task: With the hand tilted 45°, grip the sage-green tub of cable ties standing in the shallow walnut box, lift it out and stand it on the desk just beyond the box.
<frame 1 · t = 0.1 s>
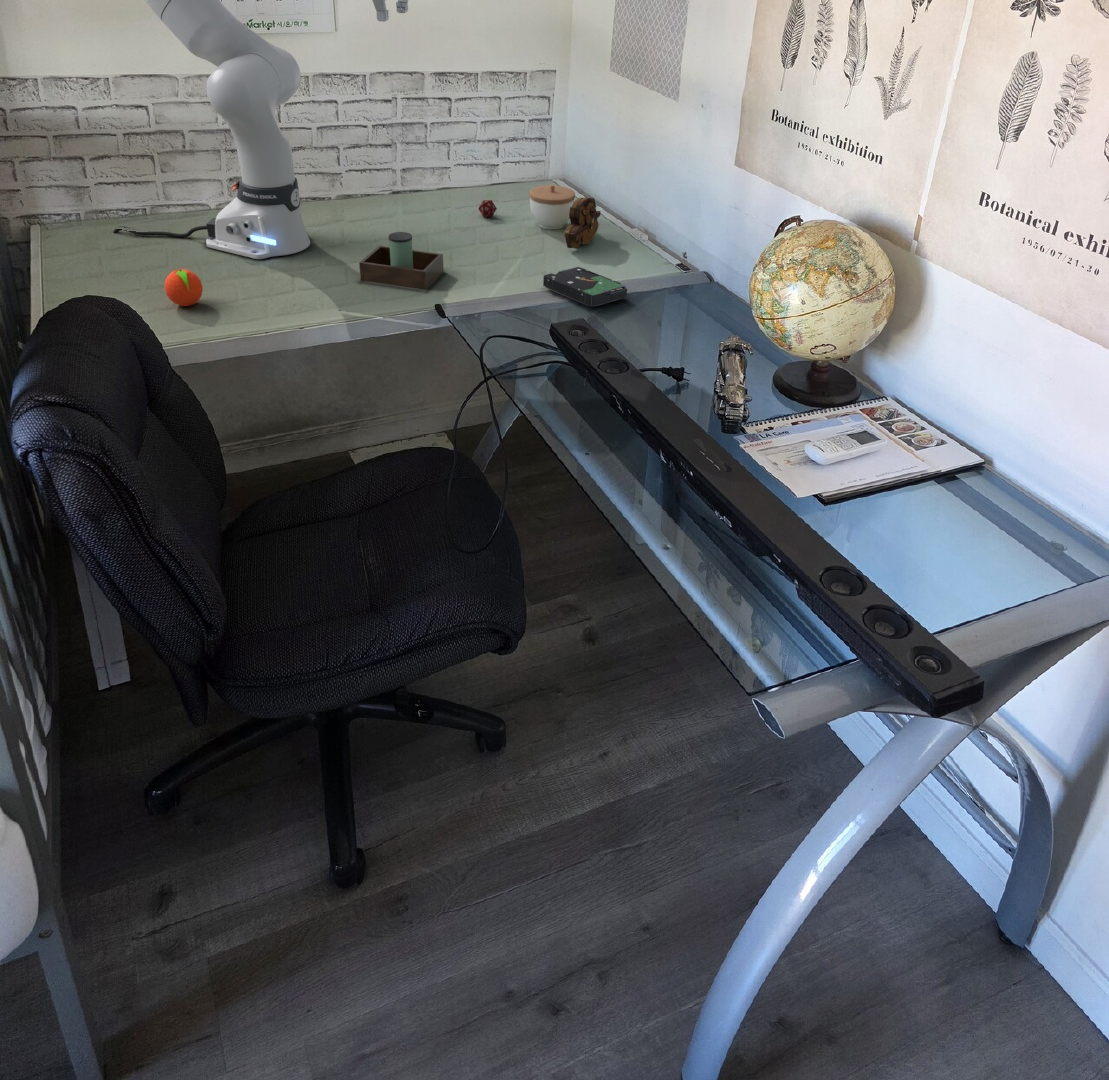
hand: (392, 16, 186), 48 cm above the table, tool pointing down, fingers open, 8 cm apart
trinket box: (551, 225, 237), on the table
walnut box: (402, 278, 208), on the table
clementine: (188, 306, 194), on the table
wooden carving: (582, 244, 228), on the table
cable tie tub: (402, 275, 208), resting on walnut box
dice: (487, 217, 240), on the table
disk drive: (584, 293, 205), on the table
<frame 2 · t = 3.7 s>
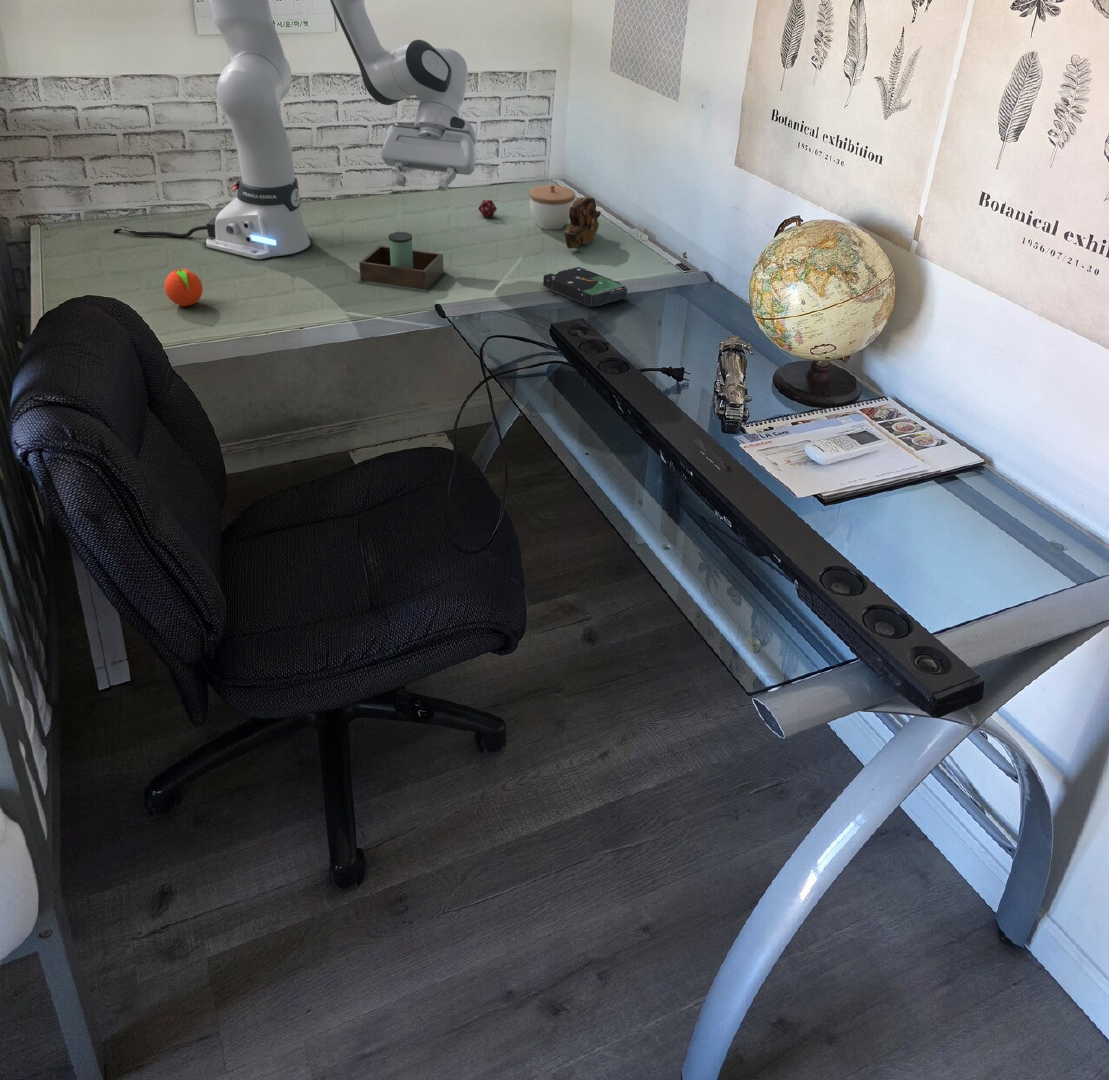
hand: (421, 187, 209), 15 cm above the table, tool tilted 45°, fingers open, 8 cm apart
nothing on the table moved.
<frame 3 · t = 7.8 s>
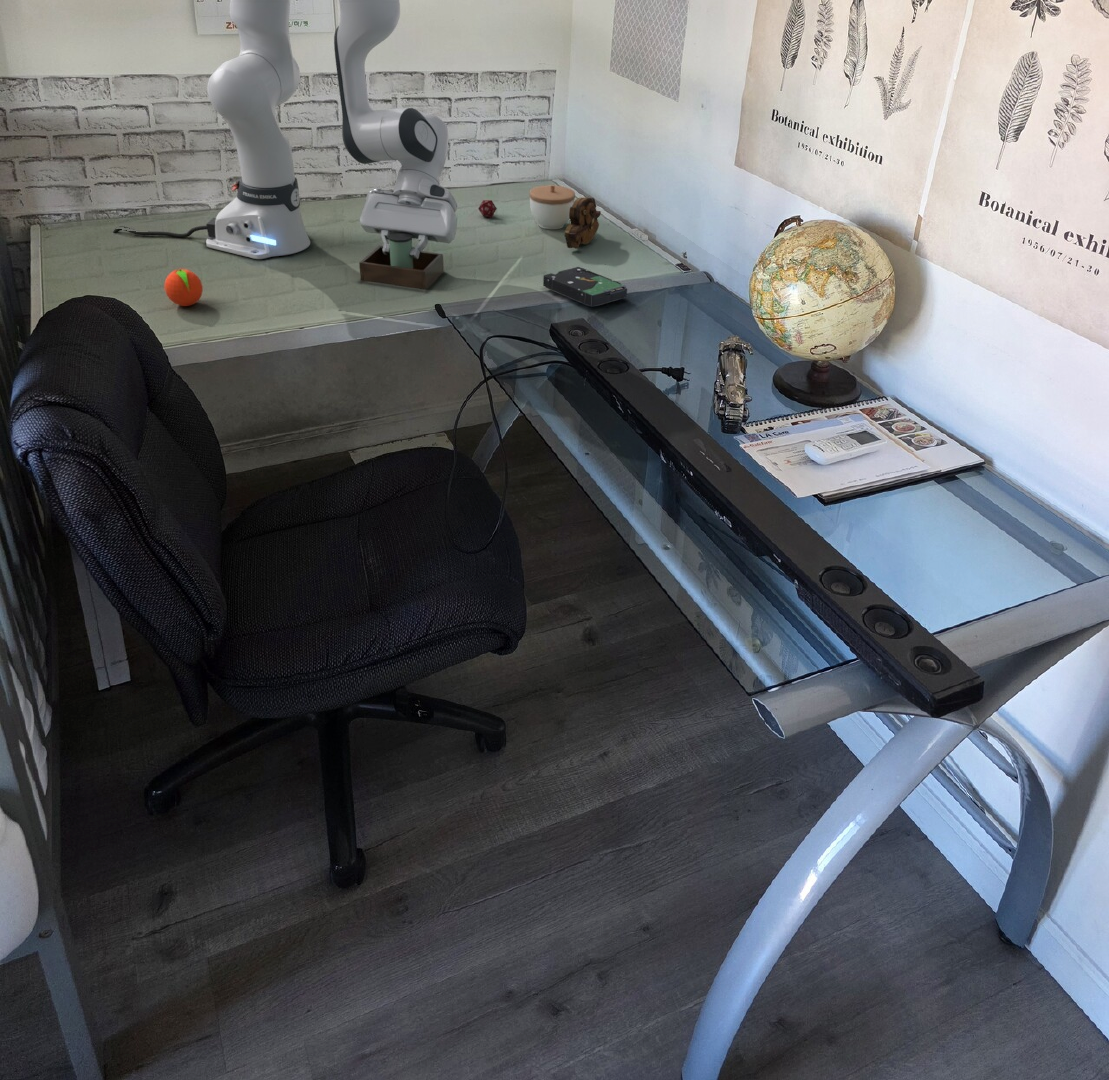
hand: (400, 255, 205), 5 cm above the table, tool tilted 45°, fingers closed on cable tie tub, 4 cm apart
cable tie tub: (402, 275, 208), point 1 cm above the table, touching gripper, walnut box
everything else where it was.
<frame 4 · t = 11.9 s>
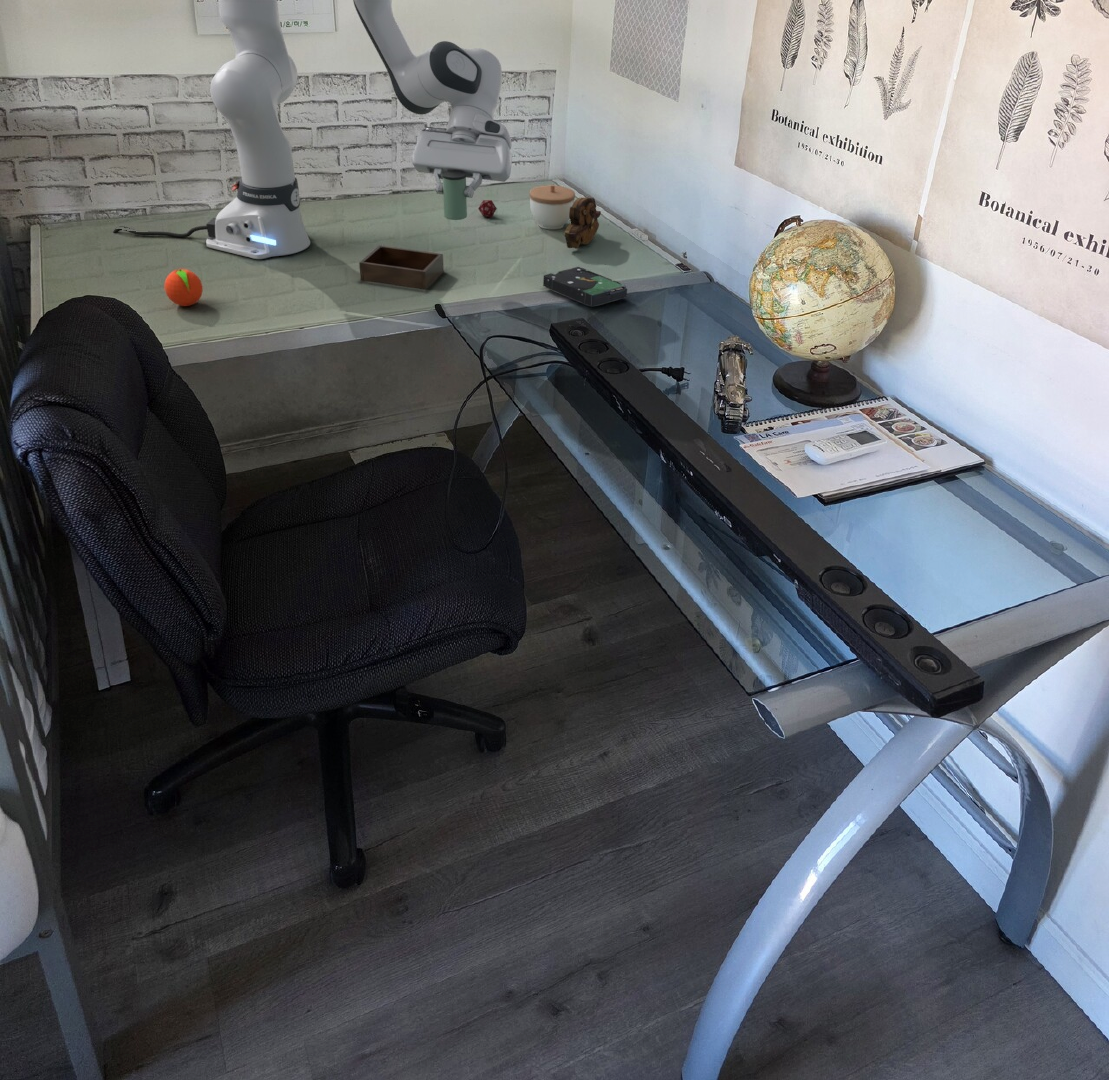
hand: (454, 194, 199), 17 cm above the table, tool tilted 45°, fingers closed on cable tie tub, 4 cm apart
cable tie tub: (455, 216, 202), point 13 cm above the table, touching gripper
everything else where it was.
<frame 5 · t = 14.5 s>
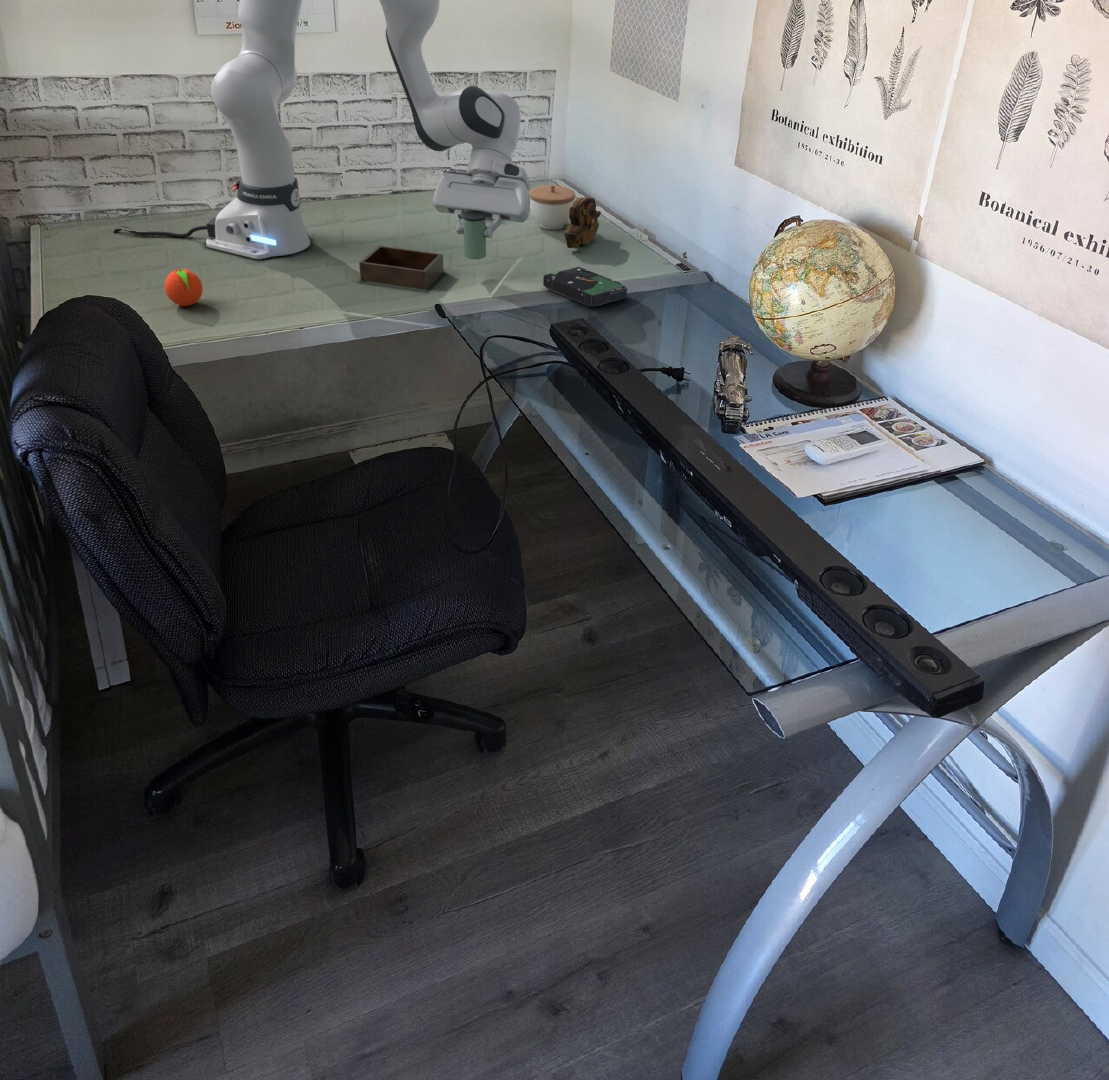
hand: (473, 235, 204), 9 cm above the table, tool tilted 45°, fingers closed on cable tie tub, 4 cm apart
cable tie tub: (475, 255, 208), point 5 cm above the table, touching gripper
everything else where it was.
when the fingers open (4 cm above the table, at t = 16.2 s): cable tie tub stays where it is, on the table.
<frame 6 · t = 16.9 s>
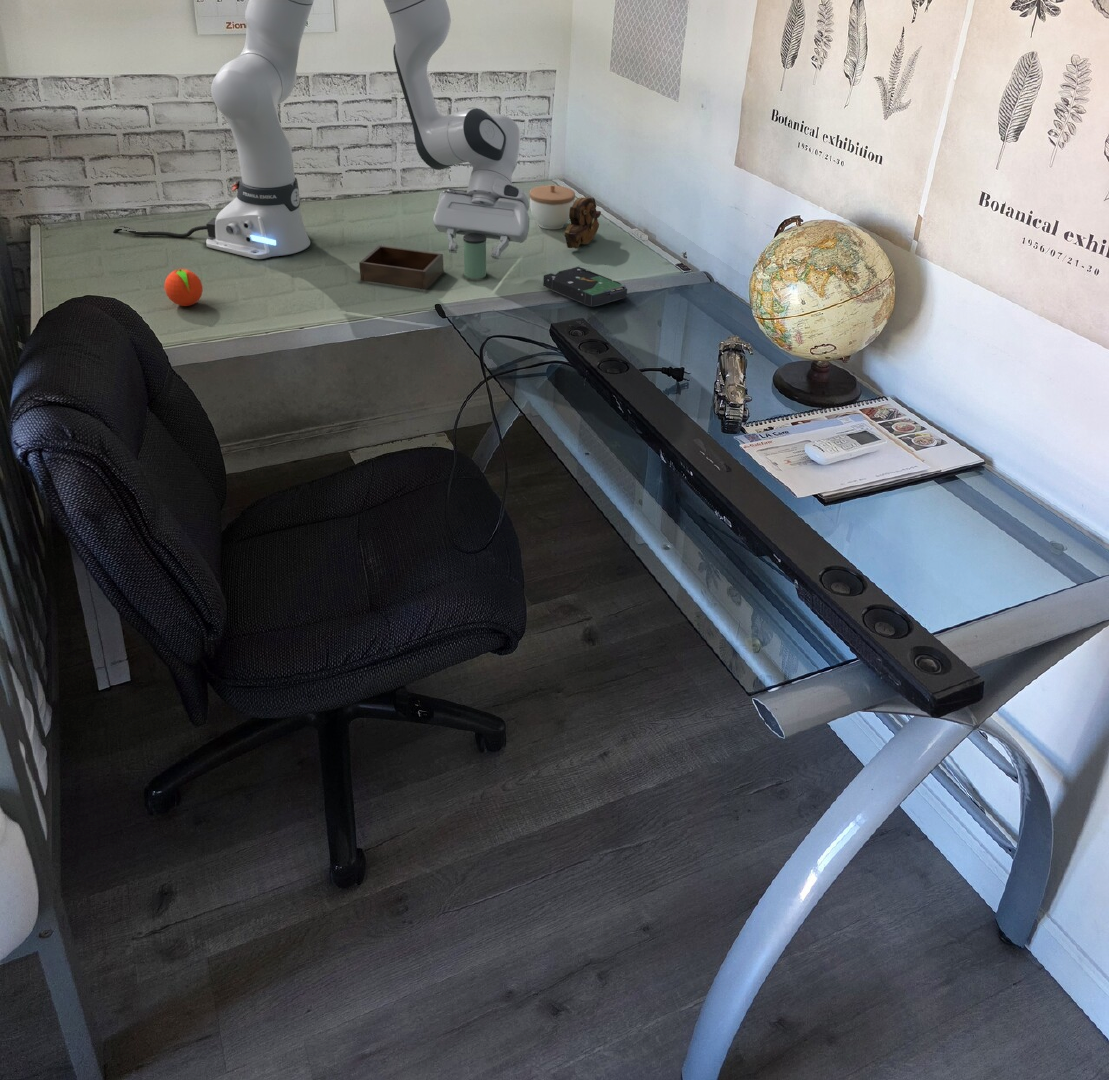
hand: (473, 255, 207), 5 cm above the table, tool tilted 45°, fingers open, 8 cm apart
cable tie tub: (475, 276, 210), on the table
everything else where it was.
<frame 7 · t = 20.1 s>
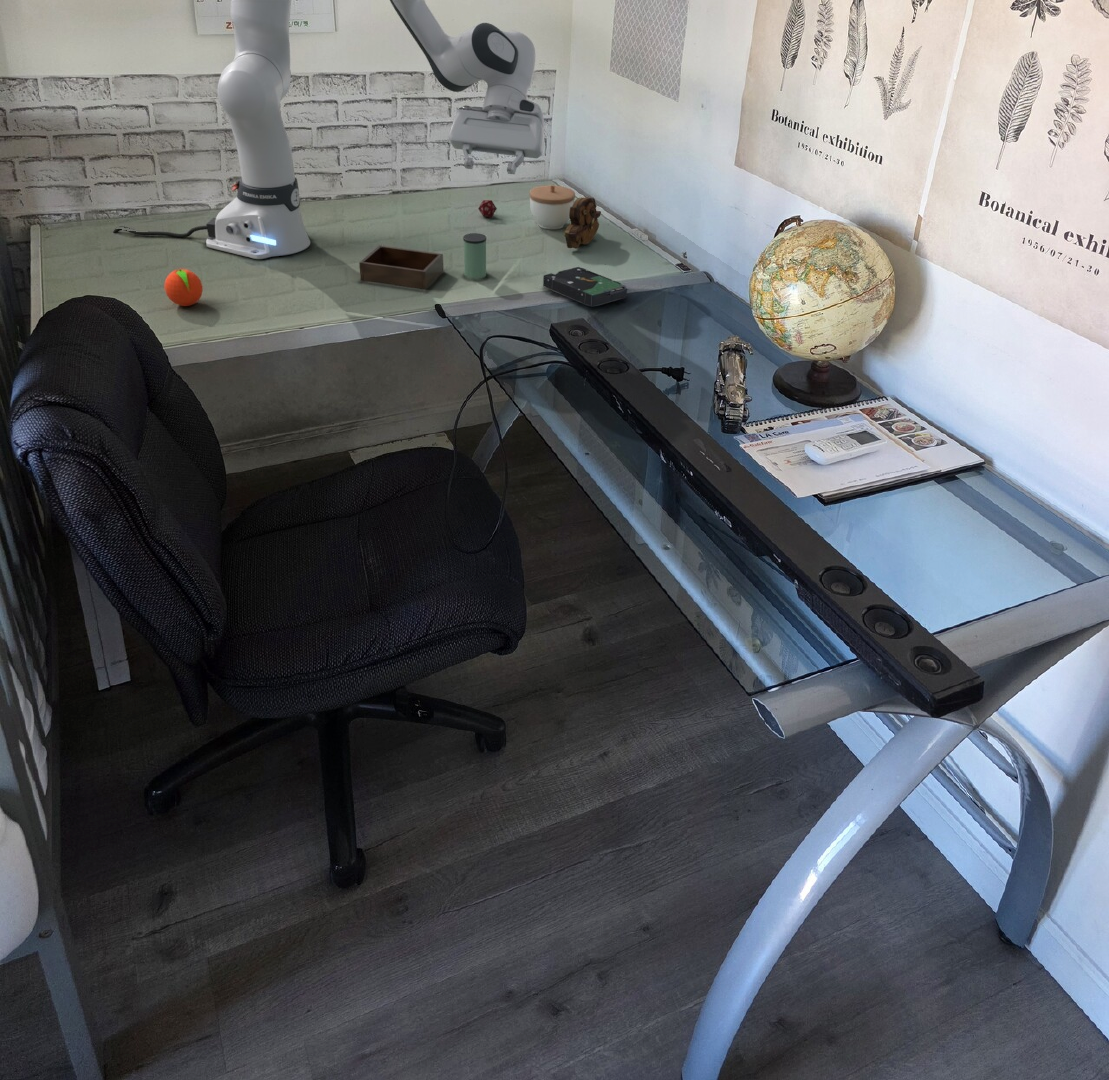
hand: (489, 170, 209), 19 cm above the table, tool tilted 45°, fingers open, 8 cm apart
nothing on the table moved.
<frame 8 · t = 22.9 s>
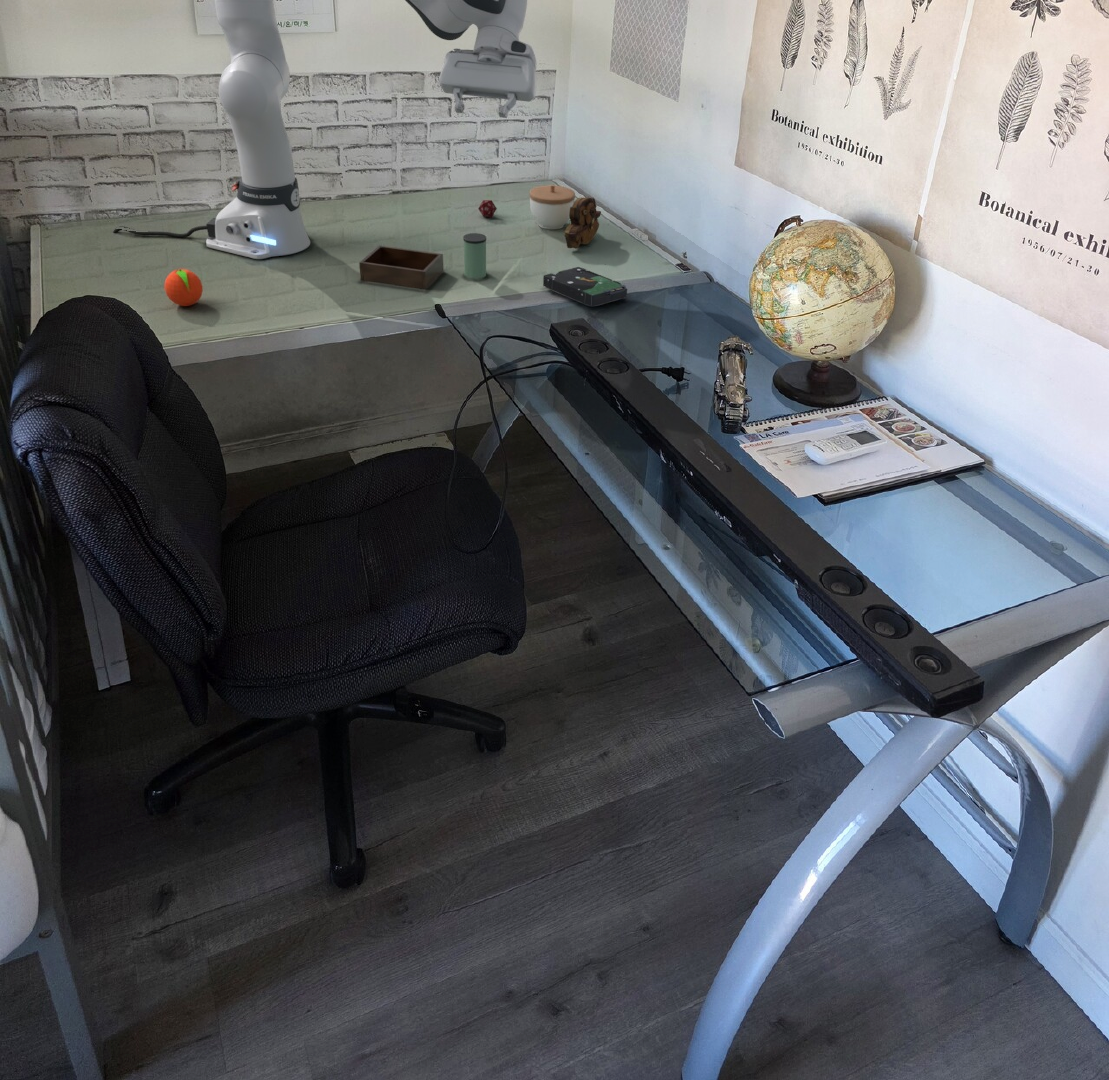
hand: (480, 113, 204), 29 cm above the table, tool tilted 45°, fingers open, 8 cm apart
nothing on the table moved.
at the end: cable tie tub inside the target area (0.0 cm from its centre), on the table; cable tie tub tilted 0°; the gripper is holding nothing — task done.
